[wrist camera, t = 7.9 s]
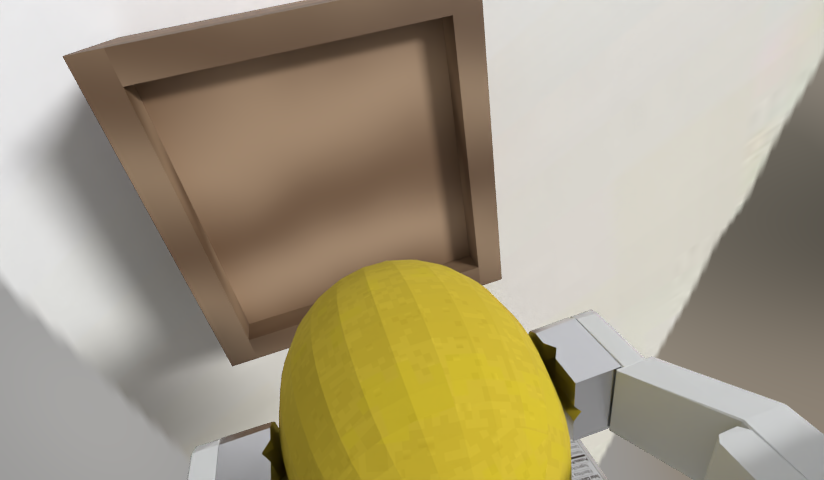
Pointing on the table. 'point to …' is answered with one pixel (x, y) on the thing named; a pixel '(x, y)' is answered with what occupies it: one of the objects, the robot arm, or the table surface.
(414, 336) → the lemon
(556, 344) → the robot arm
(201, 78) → the walnut base
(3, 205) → the table surface
